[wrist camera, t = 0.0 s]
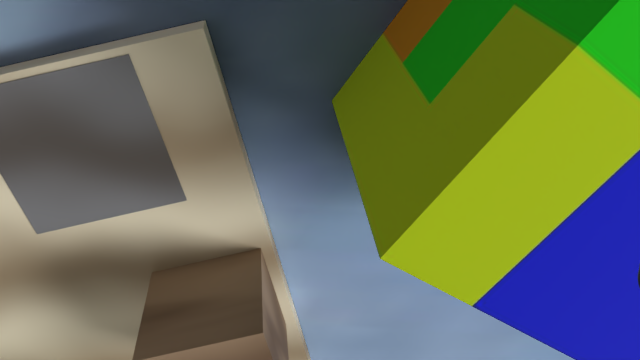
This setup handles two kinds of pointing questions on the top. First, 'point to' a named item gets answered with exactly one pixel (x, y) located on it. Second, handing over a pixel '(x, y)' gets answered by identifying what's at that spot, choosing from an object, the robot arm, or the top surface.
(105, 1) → the top surface
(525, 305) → the puzzle toy
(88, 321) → the board
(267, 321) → the walnut block
